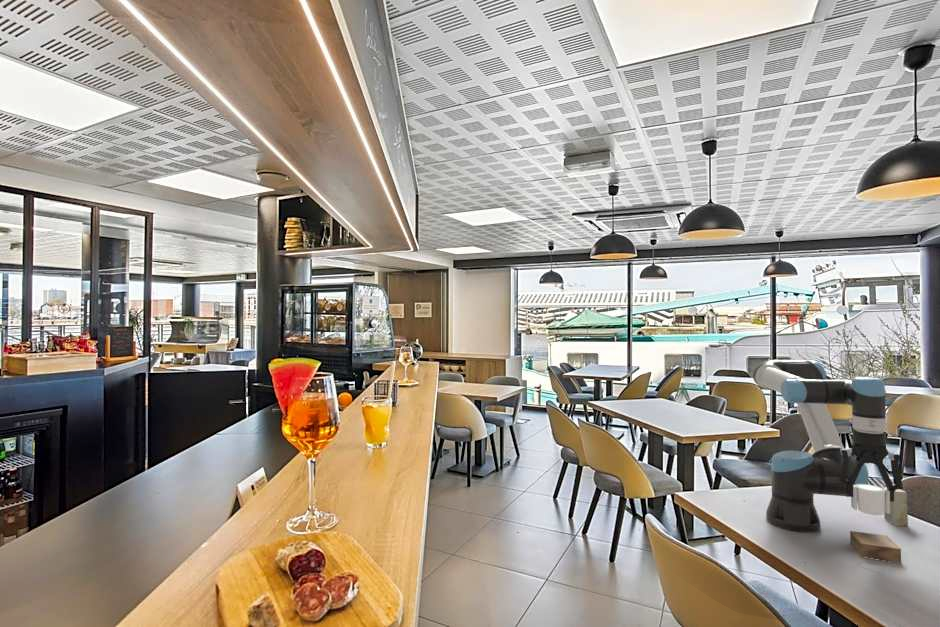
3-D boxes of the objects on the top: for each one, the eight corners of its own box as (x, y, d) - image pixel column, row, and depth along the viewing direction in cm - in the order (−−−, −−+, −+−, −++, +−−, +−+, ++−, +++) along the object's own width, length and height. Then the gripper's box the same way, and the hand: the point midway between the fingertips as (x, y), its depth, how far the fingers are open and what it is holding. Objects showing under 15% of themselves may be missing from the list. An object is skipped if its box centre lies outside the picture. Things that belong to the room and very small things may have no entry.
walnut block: (861, 557, 138) (861, 543, 138) (850, 544, 146) (850, 530, 146) (901, 563, 134) (900, 549, 134) (887, 549, 143) (887, 535, 143)
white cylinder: (849, 507, 143) (848, 483, 143) (871, 506, 143) (871, 483, 143) (869, 516, 136) (868, 491, 136) (893, 515, 136) (892, 490, 136)
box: (908, 526, 158) (907, 492, 159) (893, 525, 159) (892, 491, 159) (897, 519, 163) (897, 487, 164) (883, 518, 164) (882, 486, 165)
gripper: (830, 430, 141) (832, 509, 140) (918, 437, 132) (920, 520, 132) (824, 425, 148) (825, 500, 147) (907, 431, 139) (908, 510, 139)
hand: (870, 509), depth 140 cm, fingers closed on white cylinder, 7 cm apart
